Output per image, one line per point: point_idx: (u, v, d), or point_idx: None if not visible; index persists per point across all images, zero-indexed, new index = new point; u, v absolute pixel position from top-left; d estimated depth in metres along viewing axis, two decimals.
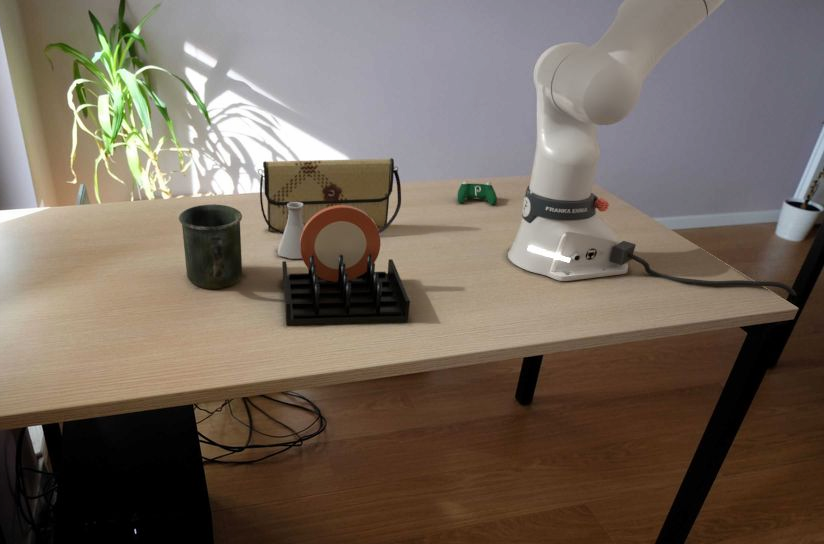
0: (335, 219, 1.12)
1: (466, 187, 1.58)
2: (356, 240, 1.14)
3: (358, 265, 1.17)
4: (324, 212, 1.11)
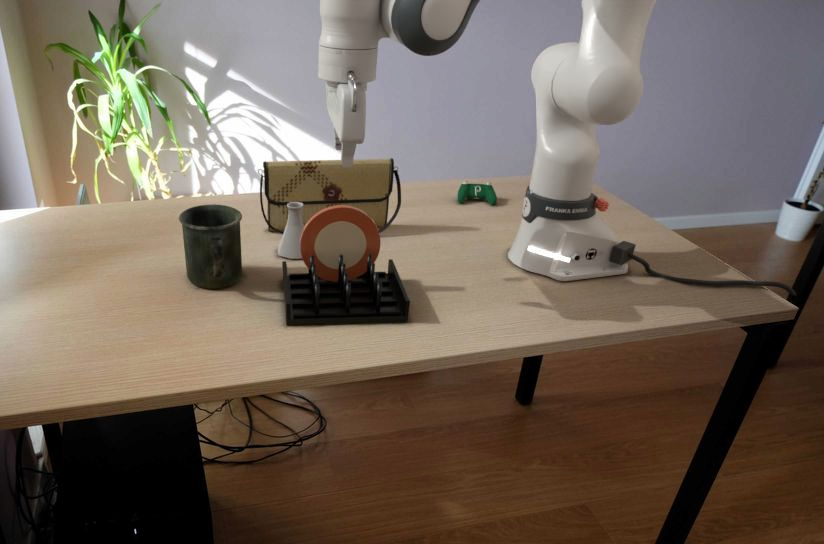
0: (335, 219, 1.12)
1: (466, 187, 1.58)
2: (356, 240, 1.14)
3: (358, 265, 1.17)
4: (324, 212, 1.11)
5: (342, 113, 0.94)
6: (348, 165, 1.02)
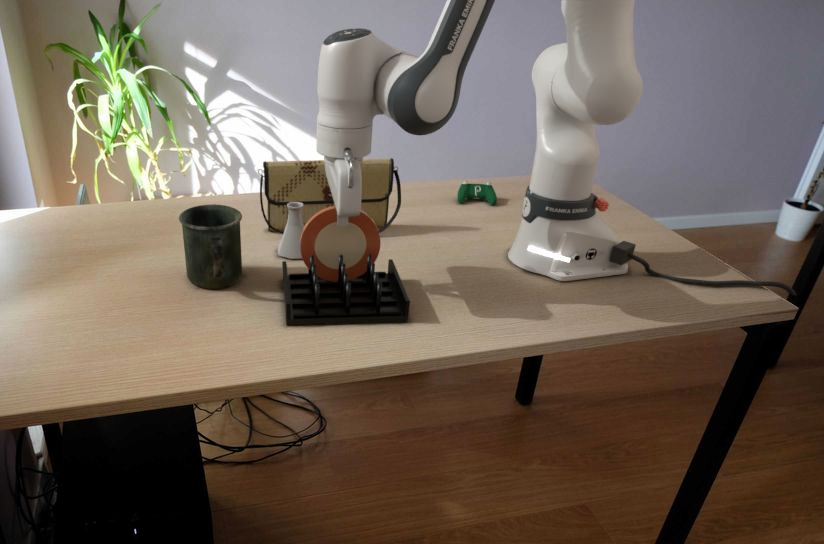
0: (335, 219, 1.12)
1: (466, 187, 1.58)
2: (356, 240, 1.14)
3: (358, 265, 1.17)
4: (324, 212, 1.11)
5: (339, 189, 1.00)
6: (343, 225, 1.11)
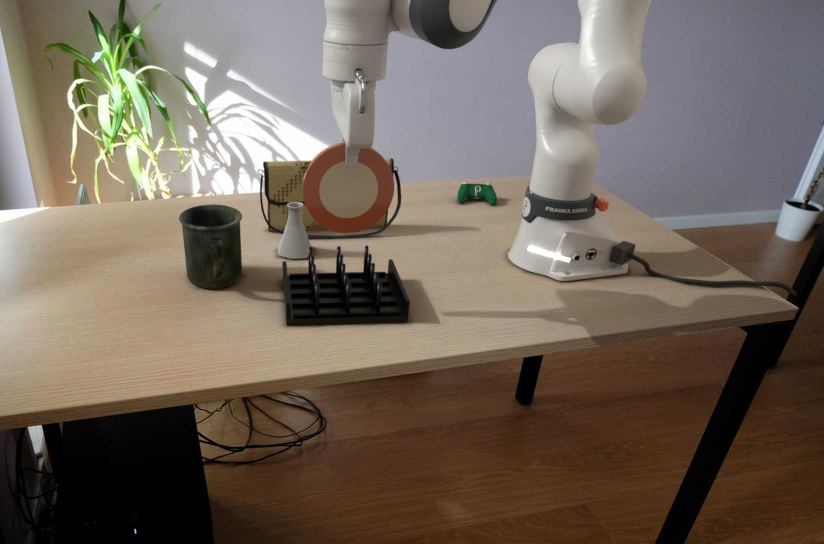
0: (343, 158, 0.98)
1: (466, 187, 1.58)
2: (367, 183, 1.00)
3: (369, 213, 1.03)
4: (330, 149, 0.97)
5: (349, 115, 0.86)
6: (353, 164, 0.97)
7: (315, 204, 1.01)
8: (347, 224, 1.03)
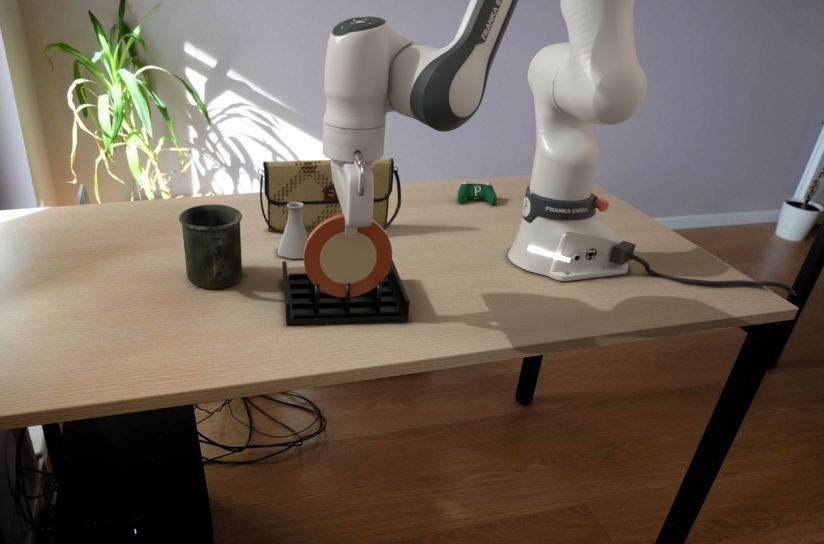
0: (342, 229, 1.01)
1: (466, 187, 1.58)
2: (366, 251, 1.04)
3: (367, 279, 1.06)
4: (330, 221, 1.00)
5: (349, 197, 0.89)
6: (352, 236, 1.00)
7: (316, 271, 1.05)
8: None
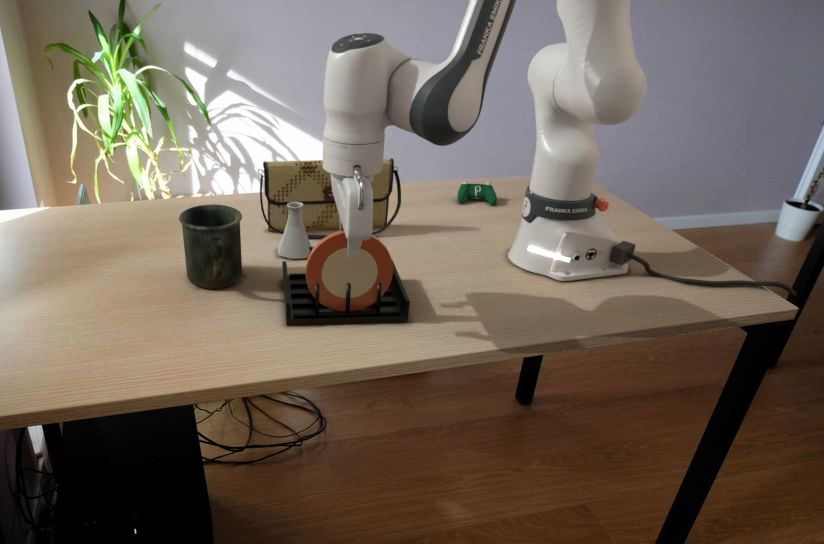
0: (345, 244, 1.03)
1: (466, 187, 1.58)
2: (367, 267, 1.05)
3: (367, 294, 1.08)
4: (334, 237, 1.02)
5: (348, 211, 0.90)
6: (355, 257, 0.99)
7: None
8: None
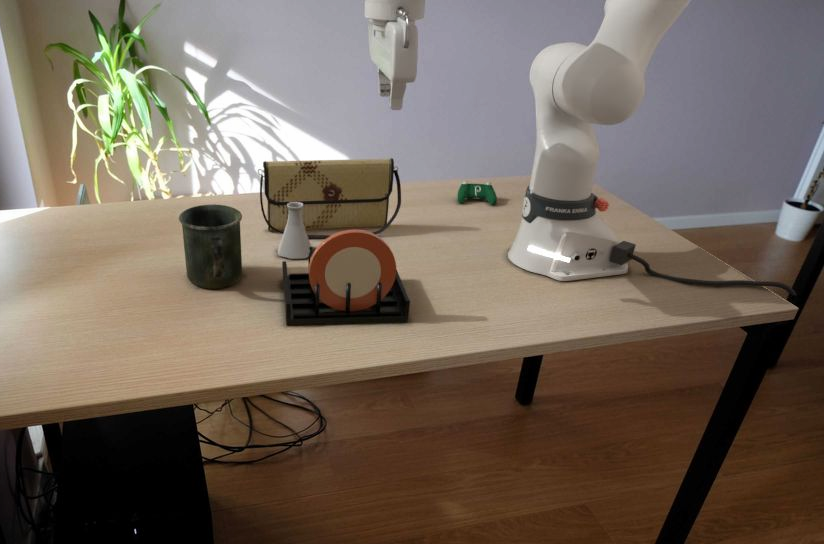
0: (351, 244, 1.03)
1: (466, 187, 1.58)
2: (371, 269, 1.05)
3: (369, 295, 1.08)
4: (340, 235, 1.02)
5: (394, 50, 0.92)
6: (397, 108, 1.00)
7: (319, 283, 1.06)
8: None
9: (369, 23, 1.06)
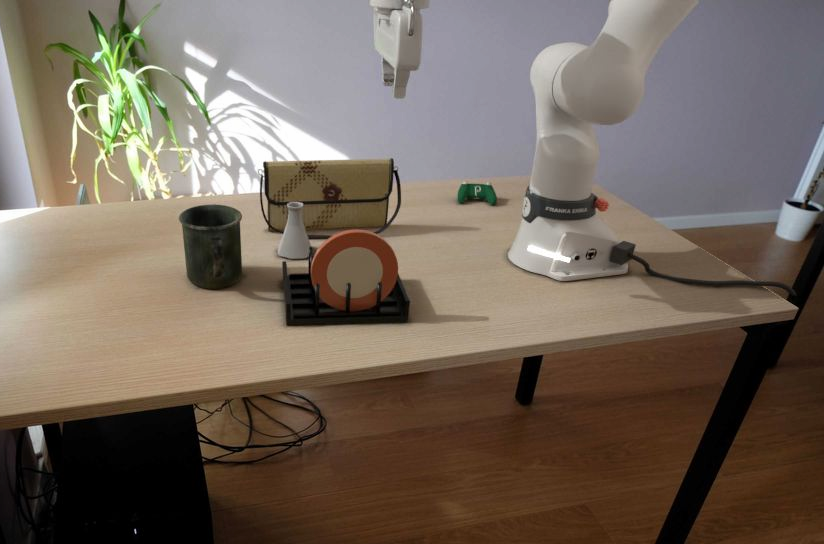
0: (355, 244, 1.03)
1: (466, 187, 1.58)
2: (373, 269, 1.05)
3: (369, 296, 1.08)
4: (344, 235, 1.02)
5: (398, 37, 0.92)
6: (400, 96, 1.01)
7: (321, 281, 1.06)
8: None
9: (374, 13, 1.06)
